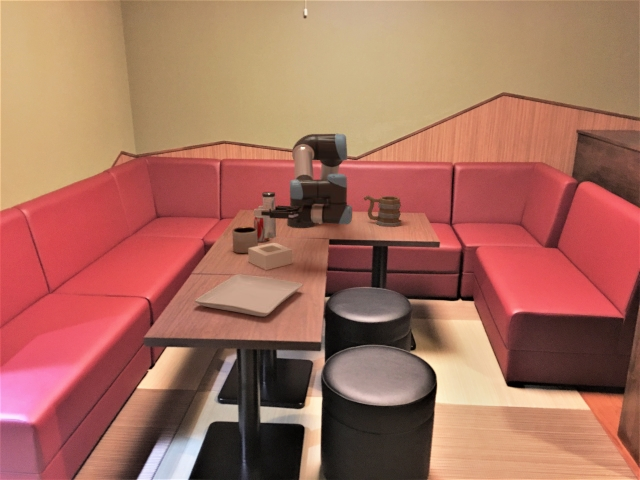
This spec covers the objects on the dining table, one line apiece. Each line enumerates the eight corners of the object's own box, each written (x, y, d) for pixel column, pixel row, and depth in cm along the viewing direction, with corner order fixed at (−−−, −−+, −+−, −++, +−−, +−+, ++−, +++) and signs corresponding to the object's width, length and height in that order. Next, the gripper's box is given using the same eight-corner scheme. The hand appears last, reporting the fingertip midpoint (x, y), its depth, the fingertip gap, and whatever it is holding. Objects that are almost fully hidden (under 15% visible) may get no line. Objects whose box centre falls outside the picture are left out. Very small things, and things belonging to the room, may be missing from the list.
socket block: (274, 255, 224) (274, 242, 222) (292, 263, 214) (292, 249, 213) (248, 261, 216) (248, 248, 215) (265, 270, 207) (265, 255, 205)
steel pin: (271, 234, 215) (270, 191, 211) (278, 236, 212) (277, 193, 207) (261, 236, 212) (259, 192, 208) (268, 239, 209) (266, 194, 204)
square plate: (237, 282, 195) (236, 272, 193) (304, 293, 185) (304, 282, 183) (193, 309, 171) (193, 298, 169) (268, 323, 160) (267, 311, 159)
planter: (228, 252, 229) (227, 231, 226) (240, 245, 238) (239, 225, 236) (250, 255, 225) (249, 233, 222) (261, 248, 235) (261, 227, 232)
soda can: (266, 243, 243) (266, 218, 240) (252, 242, 244) (251, 217, 241) (271, 239, 249) (270, 214, 246) (257, 238, 251) (256, 213, 248)
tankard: (401, 221, 283) (402, 194, 278) (400, 227, 271) (401, 199, 267) (364, 219, 287) (365, 192, 282) (361, 225, 275) (362, 197, 271)
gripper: (307, 228, 198) (249, 225, 203) (317, 217, 215) (263, 215, 220) (307, 208, 196) (248, 206, 201) (317, 199, 213) (262, 197, 218)
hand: (256, 210), depth 210 cm, fingers closed on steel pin, 5 cm apart
